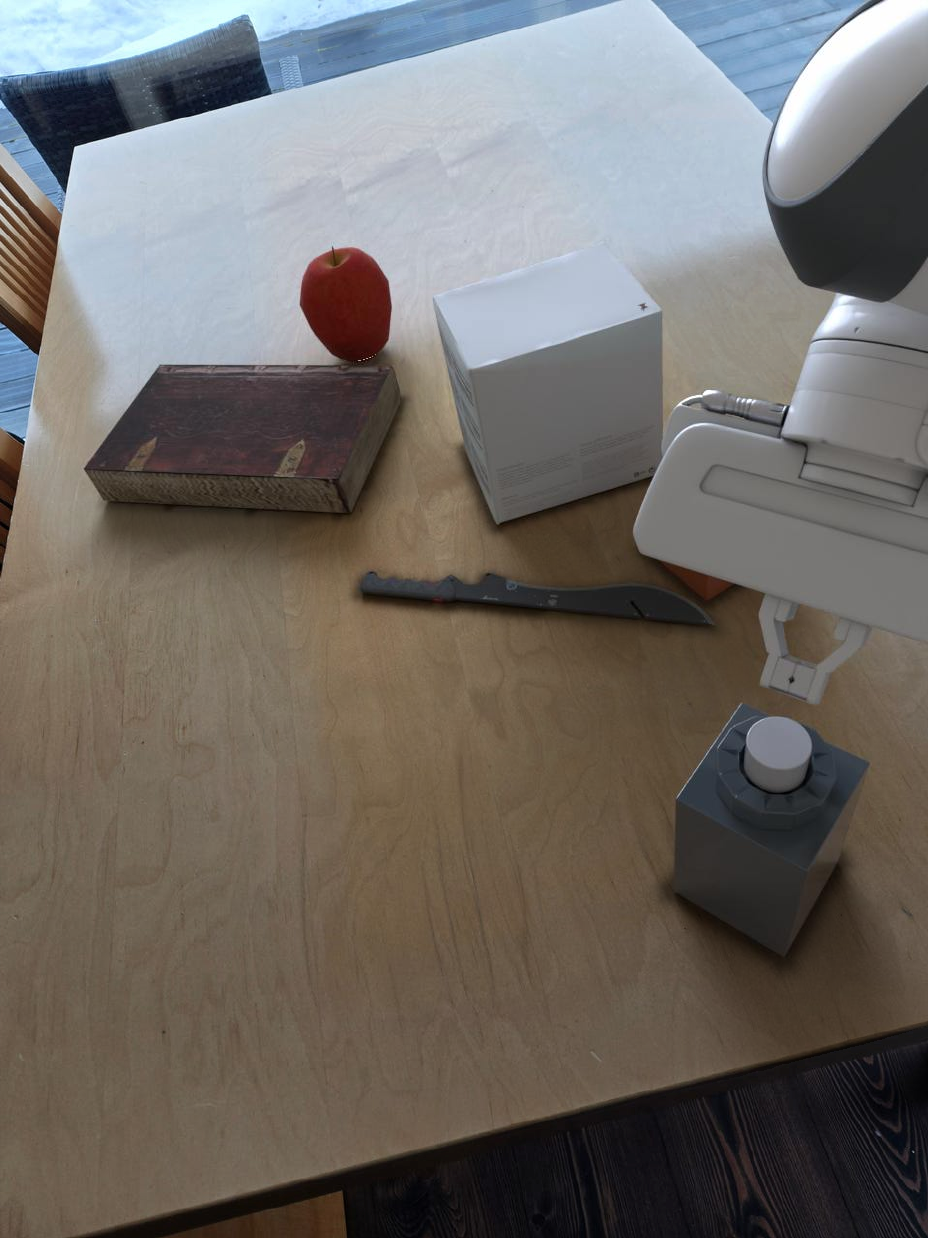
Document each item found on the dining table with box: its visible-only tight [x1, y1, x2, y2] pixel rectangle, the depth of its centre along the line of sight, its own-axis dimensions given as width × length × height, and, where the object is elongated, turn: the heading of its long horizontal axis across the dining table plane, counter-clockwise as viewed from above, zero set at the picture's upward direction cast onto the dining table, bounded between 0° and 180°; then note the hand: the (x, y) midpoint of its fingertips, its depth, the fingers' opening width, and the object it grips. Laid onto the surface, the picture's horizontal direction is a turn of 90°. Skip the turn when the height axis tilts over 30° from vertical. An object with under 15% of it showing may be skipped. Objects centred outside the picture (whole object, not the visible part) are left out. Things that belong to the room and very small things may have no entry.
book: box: [83, 364, 402, 514], centre depth 101 cm, size 29×19×5 cm, turn 77°
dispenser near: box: [673, 701, 871, 958], centre depth 58 cm, size 8×8×15 cm
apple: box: [299, 245, 393, 364], centre depth 106 cm, size 10×10×14 cm
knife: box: [359, 570, 716, 626], centre depth 82 cm, size 32×4×1 cm, turn 75°
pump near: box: [744, 716, 812, 793], centre depth 51 cm, size 3×3×3 cm
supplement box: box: [432, 241, 664, 525], centre depth 87 cm, size 17×13×18 cm
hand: (789, 694), depth 47 cm, fingers closed
